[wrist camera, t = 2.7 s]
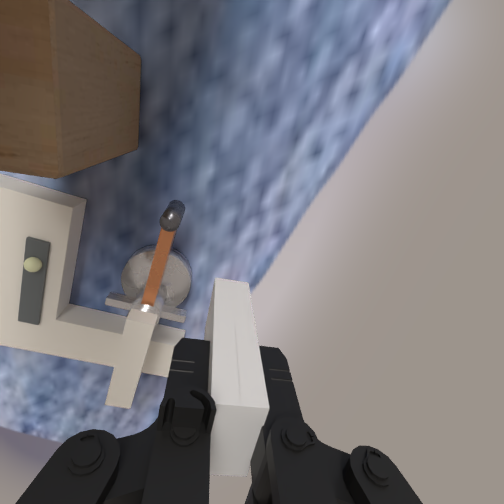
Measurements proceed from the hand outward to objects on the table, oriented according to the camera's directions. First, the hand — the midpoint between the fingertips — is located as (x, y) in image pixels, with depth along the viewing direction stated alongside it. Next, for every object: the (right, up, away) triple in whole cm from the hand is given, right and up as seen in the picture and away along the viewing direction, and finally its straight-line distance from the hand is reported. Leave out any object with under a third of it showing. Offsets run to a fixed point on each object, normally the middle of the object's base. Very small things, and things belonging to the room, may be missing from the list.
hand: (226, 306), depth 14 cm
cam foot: (-11, +2, +29) cm, 31 cm away
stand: (-23, -1, +29) cm, 37 cm away
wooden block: (-16, +20, +21) cm, 33 cm away
